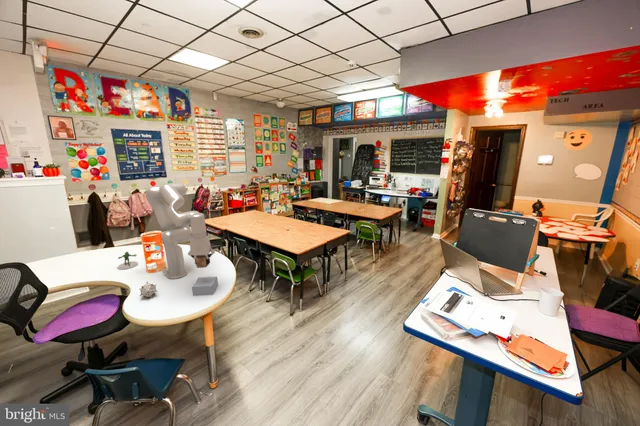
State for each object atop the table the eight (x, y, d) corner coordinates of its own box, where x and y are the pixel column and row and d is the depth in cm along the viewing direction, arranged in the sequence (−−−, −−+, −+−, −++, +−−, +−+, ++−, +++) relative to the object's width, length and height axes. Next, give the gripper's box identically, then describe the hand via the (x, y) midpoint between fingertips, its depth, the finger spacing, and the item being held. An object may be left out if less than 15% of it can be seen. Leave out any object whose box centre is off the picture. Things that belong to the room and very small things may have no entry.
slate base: (193, 296, 143) (191, 286, 142) (199, 286, 154) (198, 277, 152) (213, 295, 144) (211, 285, 143) (218, 285, 155) (217, 276, 153)
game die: (148, 301, 144) (146, 284, 147) (162, 295, 144) (159, 278, 147) (136, 302, 136) (133, 284, 139) (150, 296, 136) (147, 278, 139)
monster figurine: (139, 261, 188) (137, 248, 185) (136, 267, 177) (133, 254, 175) (120, 264, 183) (117, 251, 180) (115, 271, 172) (112, 257, 170)
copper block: (196, 267, 142) (195, 258, 141) (200, 264, 147) (198, 254, 146) (206, 267, 143) (204, 257, 141) (208, 263, 148) (207, 254, 146)
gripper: (180, 237, 136) (184, 268, 140) (213, 236, 138) (216, 266, 142) (185, 233, 143) (190, 262, 147) (216, 232, 145) (219, 261, 149)
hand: (202, 264), depth 145 cm, fingers closed on copper block, 4 cm apart
